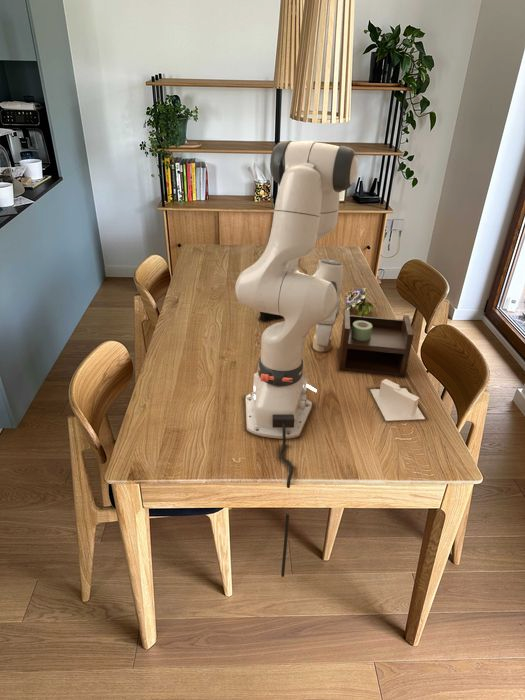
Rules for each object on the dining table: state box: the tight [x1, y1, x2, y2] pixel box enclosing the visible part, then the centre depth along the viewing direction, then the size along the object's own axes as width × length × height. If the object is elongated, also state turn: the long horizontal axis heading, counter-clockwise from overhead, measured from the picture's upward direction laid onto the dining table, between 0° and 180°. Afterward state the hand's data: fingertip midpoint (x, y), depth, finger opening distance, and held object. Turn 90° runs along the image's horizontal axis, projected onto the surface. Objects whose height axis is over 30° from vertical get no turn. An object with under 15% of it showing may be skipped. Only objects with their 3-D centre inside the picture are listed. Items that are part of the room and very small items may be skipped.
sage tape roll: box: [351, 321, 372, 341], centre depth 155 cm, size 6×6×4 cm
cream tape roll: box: [312, 333, 333, 353], centre depth 168 cm, size 6×6×4 cm
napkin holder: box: [369, 378, 426, 422], centre depth 141 cm, size 15×11×6 cm
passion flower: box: [345, 287, 377, 317], centre depth 192 cm, size 11×11×12 cm
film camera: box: [259, 312, 285, 322], centre depth 187 cm, size 15×10×9 cm, turn 115°
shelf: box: [338, 309, 415, 378], centre depth 158 cm, size 14×20×15 cm
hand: (321, 344), depth 168 cm, fingers closed on cream tape roll, 6 cm apart
